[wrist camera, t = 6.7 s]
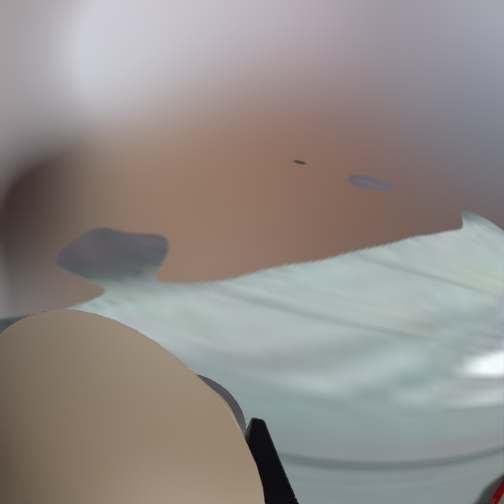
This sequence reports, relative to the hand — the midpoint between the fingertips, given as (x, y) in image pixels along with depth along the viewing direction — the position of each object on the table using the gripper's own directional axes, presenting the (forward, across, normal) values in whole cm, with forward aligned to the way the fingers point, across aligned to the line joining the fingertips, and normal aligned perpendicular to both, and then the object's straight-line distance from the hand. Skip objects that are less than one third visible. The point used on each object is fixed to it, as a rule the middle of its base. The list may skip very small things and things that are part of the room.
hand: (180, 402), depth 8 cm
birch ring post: (+4, 0, +6) cm, 7 cm away
